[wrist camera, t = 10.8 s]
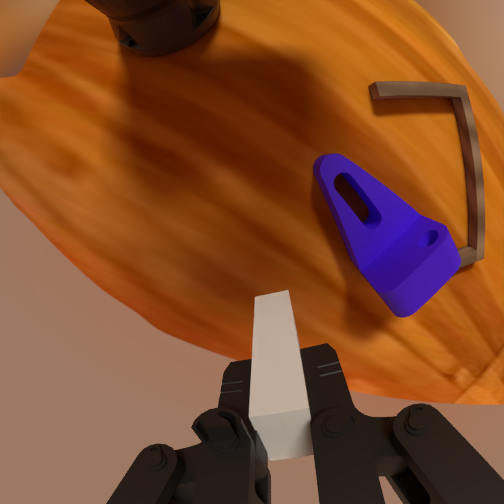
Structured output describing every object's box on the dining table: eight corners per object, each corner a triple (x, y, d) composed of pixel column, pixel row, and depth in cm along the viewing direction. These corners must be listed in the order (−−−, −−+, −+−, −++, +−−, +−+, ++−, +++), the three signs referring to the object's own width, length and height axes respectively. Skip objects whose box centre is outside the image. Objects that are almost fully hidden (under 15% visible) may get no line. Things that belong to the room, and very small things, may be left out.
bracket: (419, 232, 34) (467, 259, 23) (367, 281, 37) (401, 324, 26) (347, 131, 31) (385, 119, 20) (286, 186, 33) (299, 197, 22)
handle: (368, 86, 28) (375, 81, 26) (456, 88, 27) (465, 85, 24) (398, 279, 37) (405, 285, 34) (475, 254, 35) (483, 258, 33)
